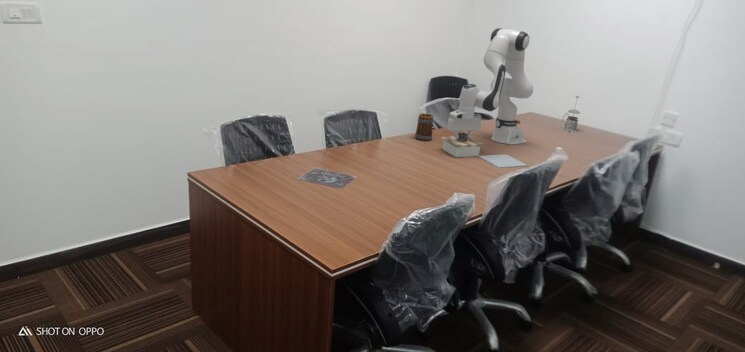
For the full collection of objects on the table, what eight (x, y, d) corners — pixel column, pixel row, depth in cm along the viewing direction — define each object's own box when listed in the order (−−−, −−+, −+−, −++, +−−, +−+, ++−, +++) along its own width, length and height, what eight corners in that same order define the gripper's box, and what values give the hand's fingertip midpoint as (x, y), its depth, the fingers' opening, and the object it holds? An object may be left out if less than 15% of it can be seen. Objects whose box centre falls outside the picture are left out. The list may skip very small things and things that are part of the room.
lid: (466, 137, 293) (467, 129, 291) (482, 146, 278) (484, 137, 276) (441, 138, 286) (442, 130, 284) (456, 147, 272) (457, 138, 270)
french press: (579, 132, 354) (587, 97, 345) (563, 131, 353) (570, 96, 345) (574, 129, 363) (581, 95, 354) (558, 128, 363) (565, 93, 354)
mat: (506, 155, 287) (506, 154, 286) (527, 166, 270) (527, 165, 270) (478, 156, 279) (478, 155, 279) (498, 168, 263) (498, 167, 263)
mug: (431, 142, 300) (434, 117, 295) (413, 140, 302) (416, 115, 297) (433, 135, 314) (436, 112, 309) (416, 133, 316) (419, 110, 311)
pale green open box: (464, 148, 293) (465, 138, 291) (478, 156, 281) (480, 145, 278) (442, 149, 288) (443, 139, 286) (455, 157, 275) (457, 147, 273)
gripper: (478, 112, 283) (474, 135, 288) (447, 112, 275) (444, 137, 280) (484, 115, 278) (481, 139, 282) (453, 115, 270) (449, 140, 275)
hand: (462, 138), depth 281 cm, fingers open, 5 cm apart
